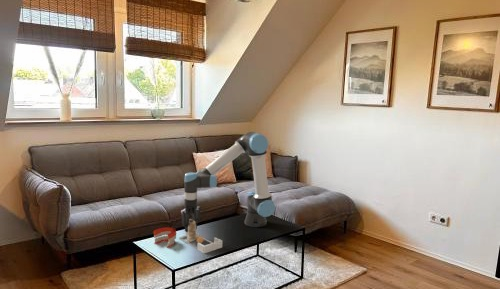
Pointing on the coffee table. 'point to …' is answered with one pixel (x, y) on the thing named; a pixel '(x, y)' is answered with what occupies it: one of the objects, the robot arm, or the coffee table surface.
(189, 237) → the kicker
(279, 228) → the coffee table surface
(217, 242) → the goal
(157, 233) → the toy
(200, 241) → the ball
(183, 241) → the rails
